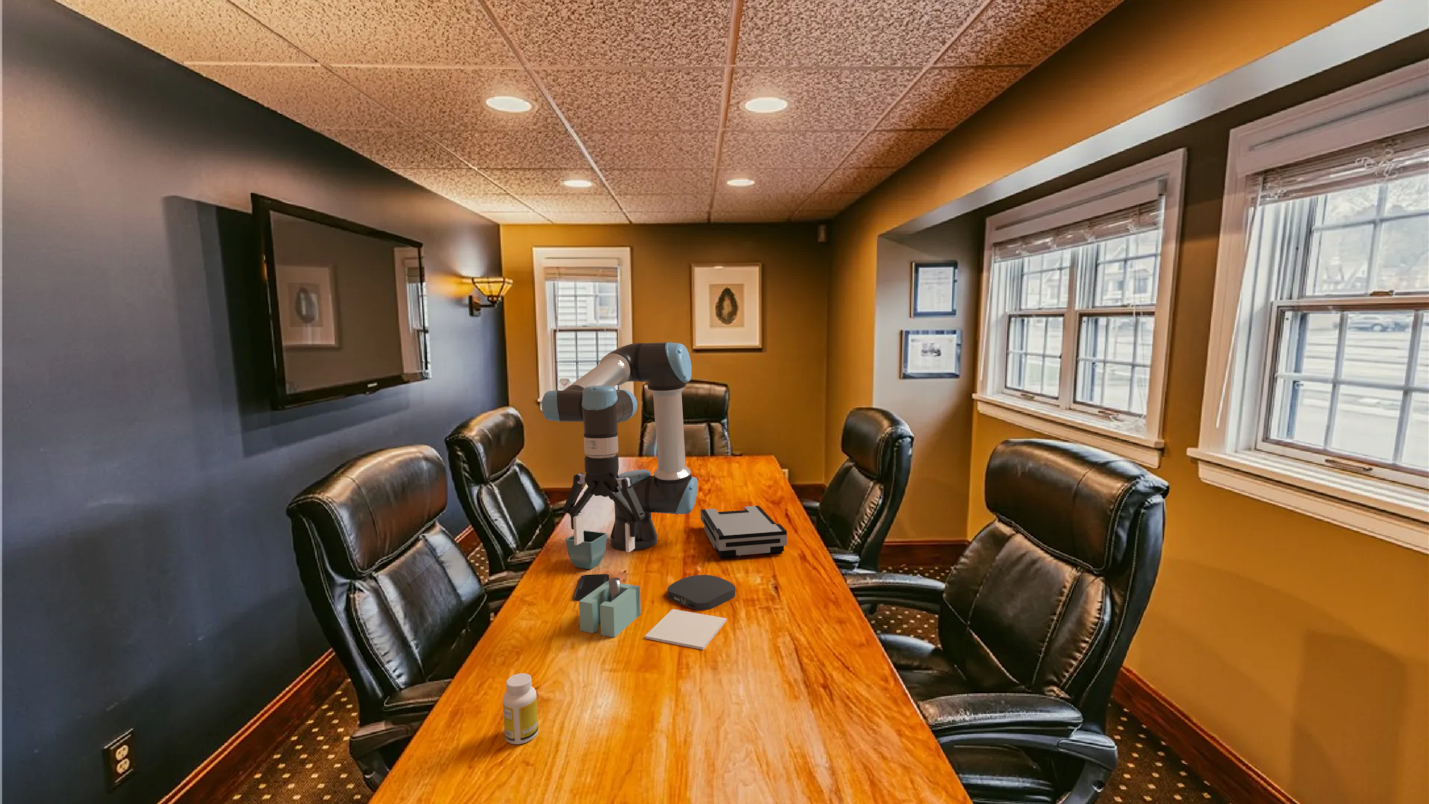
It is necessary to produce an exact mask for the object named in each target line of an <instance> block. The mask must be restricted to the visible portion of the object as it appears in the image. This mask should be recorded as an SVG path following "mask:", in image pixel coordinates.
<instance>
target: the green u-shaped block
mask: <svg viewBox="0 0 1429 804" xmlns="http://www.w3.org/2000/svg"><path fill="white" fill-rule="evenodd" d="M620 592H621V595H619V596H618V597H617V598H615V599H614V600H613V601H612V602H610V599H609V581H607V582H605V583H604V584H603V585H601V586H600V587H598V588H597V589H596V590H594V591H593V592H591V593H590V594H588V595H587V596H586V597H584V598H583V599H581V600H580V601H578V607H579V610H578V611H579V614H578V615H579V631H580V632H585V633H589V634H590V633H591V634H594V633H596V632H597V631H598V630H599V624H600V635H601V636H605V637H609V638H617V636H618V635H619V634H620V633H621V632H623V631H624V630H625V629H626V628H627V627H628V626H630V624H632V622H634V621H635V620H636V619H637V618H638V617H640V616H641V611H642V610H641V608H642V607H641V586H639V585H635V584H634V585H633V584H630V583H629V584H628V583H621V582H620Z"/></svg>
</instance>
